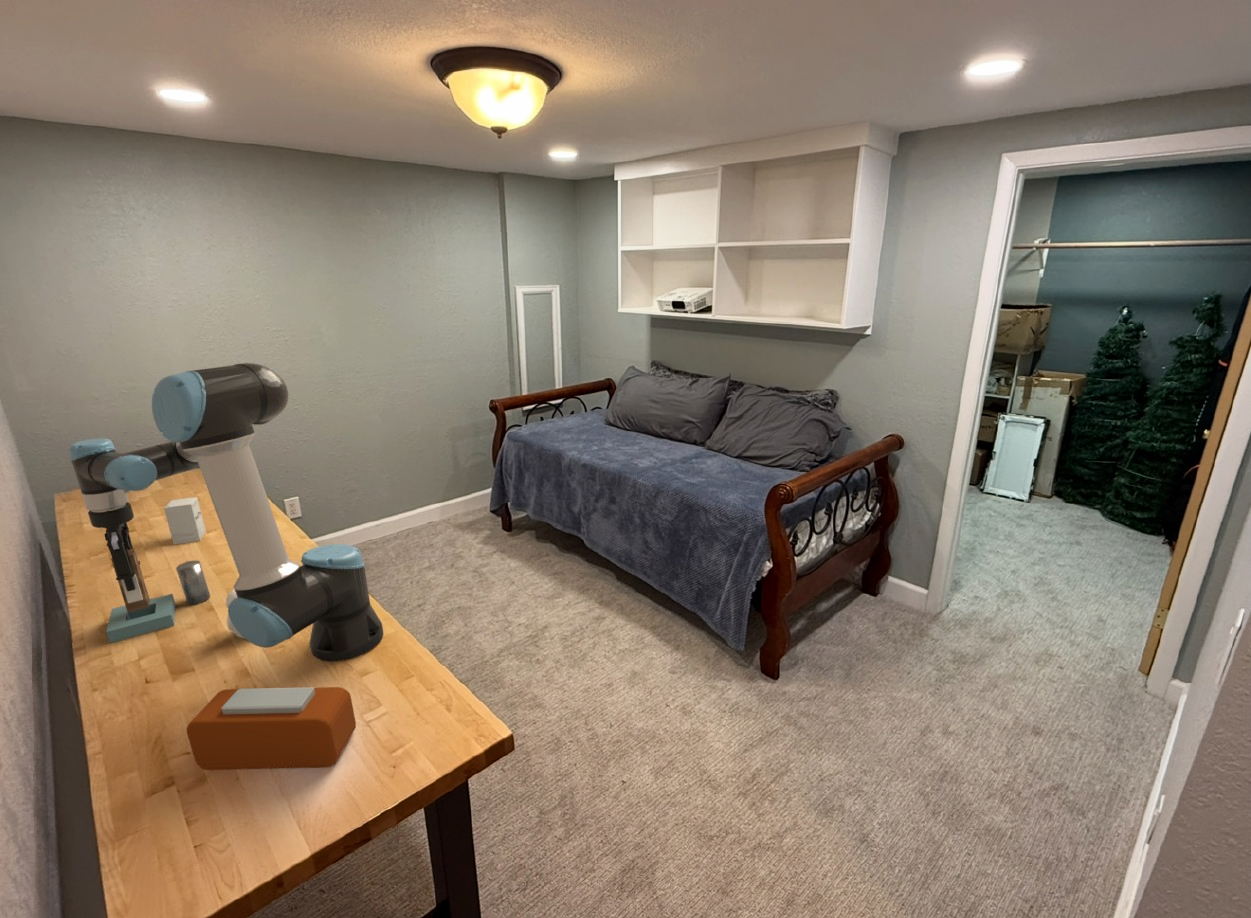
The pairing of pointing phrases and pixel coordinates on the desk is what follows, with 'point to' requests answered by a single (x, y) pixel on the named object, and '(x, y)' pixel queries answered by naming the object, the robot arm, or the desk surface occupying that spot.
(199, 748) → the block with grey pad
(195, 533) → the supplement box
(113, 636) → the socket block
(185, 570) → the round bit
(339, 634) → the robot arm
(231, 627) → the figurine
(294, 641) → the desk surface
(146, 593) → the square bit
